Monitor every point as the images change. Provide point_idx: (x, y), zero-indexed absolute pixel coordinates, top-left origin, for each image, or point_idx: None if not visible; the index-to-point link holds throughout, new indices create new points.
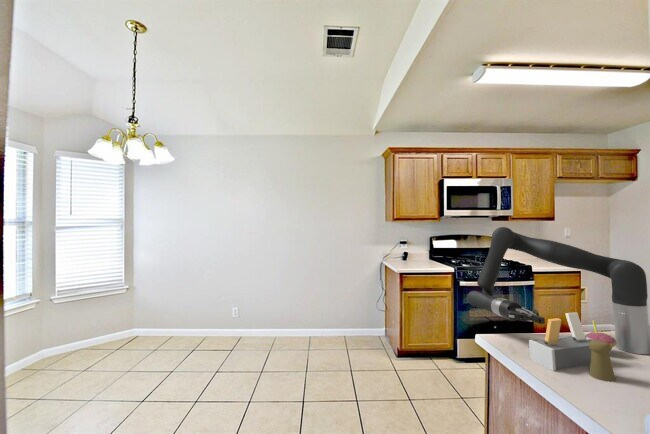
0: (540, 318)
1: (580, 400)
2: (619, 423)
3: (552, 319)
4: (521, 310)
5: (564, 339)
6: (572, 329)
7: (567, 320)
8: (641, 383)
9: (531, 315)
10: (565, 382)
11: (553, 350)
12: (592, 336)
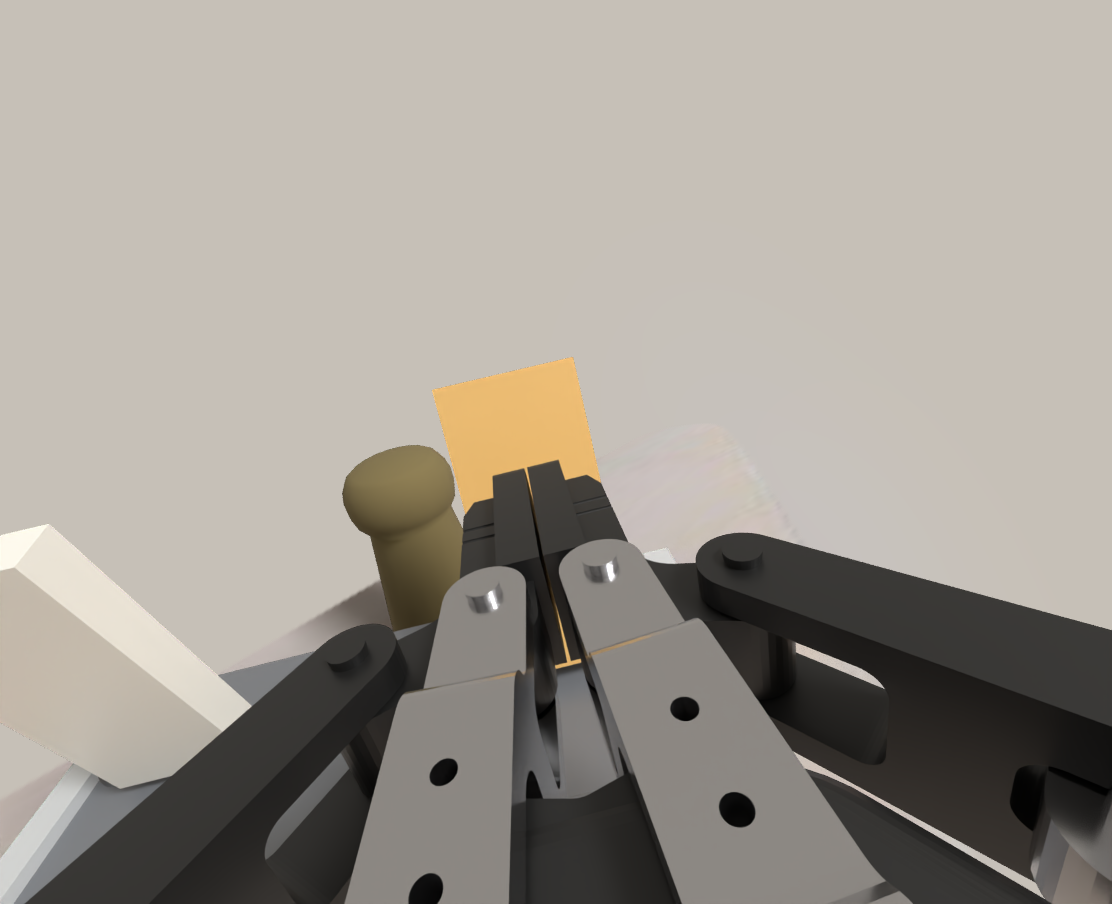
0: (558, 465)
1: (716, 485)
2: (678, 434)
3: (528, 367)
4: (714, 823)
5: (290, 815)
6: (194, 670)
7: (102, 635)
8: (360, 596)
9: (604, 547)
10: None
11: (651, 556)
12: None
